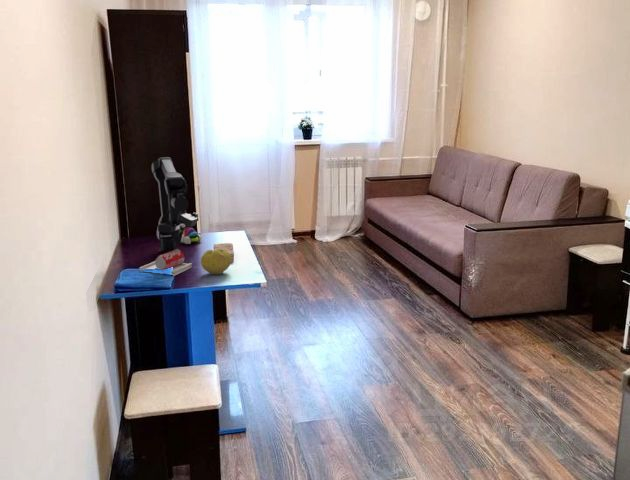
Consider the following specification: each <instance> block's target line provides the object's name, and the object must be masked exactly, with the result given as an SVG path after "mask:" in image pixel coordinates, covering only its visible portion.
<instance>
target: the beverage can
mask: <svg viewBox="0 0 630 480" xmlns="http://www.w3.org/2000/svg"><path fill="white" fill-rule="evenodd" d="M154 261H155V264H156V267H157V268H158V269H160V270H163V269H168V268H171V267H174V266H177V265H179V264H181V263H185V262H184V261H185V255H184V252H183V251H182V250H181V249H179V248H178V249H176V250H173V251H170V252H167V253H166V252H164V253H163V254H160V255H158V256H157V257H156V259H155V260H154Z"/></svg>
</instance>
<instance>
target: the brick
mask: <svg viewBox="0 0 630 480" xmlns="http://www.w3.org/2000/svg"><path fill="white" fill-rule="evenodd" d="M216 249H224V250H226V251H228V252H229V253H230V255H231V258H232V259H231V264H233V263H234V262H235V252H234V245H233V243H230V242H226V243H225V242H224V243H218V244H217V243H215V244H213V251H214V250H216Z"/></svg>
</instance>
